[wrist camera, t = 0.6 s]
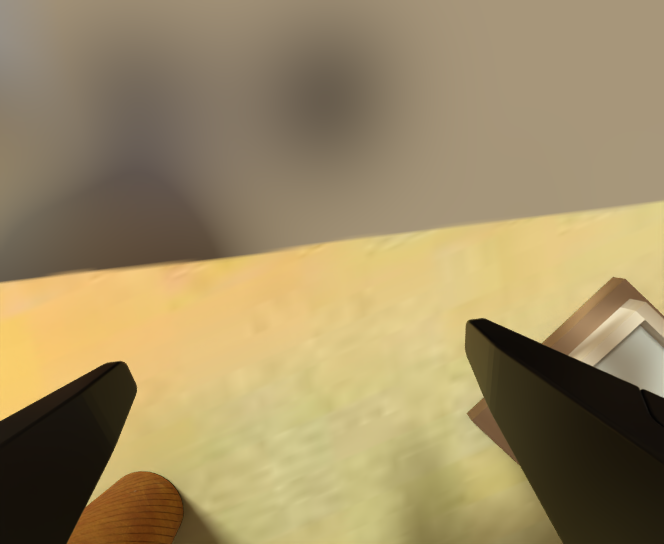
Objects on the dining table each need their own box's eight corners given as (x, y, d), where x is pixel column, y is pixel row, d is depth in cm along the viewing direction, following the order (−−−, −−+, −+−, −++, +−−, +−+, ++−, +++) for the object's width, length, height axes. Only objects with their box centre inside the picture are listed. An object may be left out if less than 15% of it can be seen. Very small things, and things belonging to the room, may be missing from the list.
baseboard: (667, 600, 25) (698, 635, 22) (466, 413, 24) (478, 430, 22) (824, 479, 23) (874, 504, 21) (613, 277, 23) (641, 281, 20)
